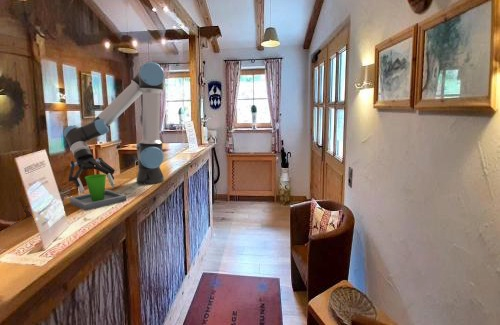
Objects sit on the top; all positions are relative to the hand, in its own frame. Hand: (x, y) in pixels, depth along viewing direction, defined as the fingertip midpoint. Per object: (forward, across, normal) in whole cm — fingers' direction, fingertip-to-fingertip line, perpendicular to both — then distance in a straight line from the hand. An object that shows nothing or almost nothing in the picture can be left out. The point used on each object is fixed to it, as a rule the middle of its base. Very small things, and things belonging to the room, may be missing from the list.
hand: (98, 188), depth 145 cm
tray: (+3, 0, -6) cm, 7 cm away
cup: (+2, 0, -6) cm, 6 cm away
